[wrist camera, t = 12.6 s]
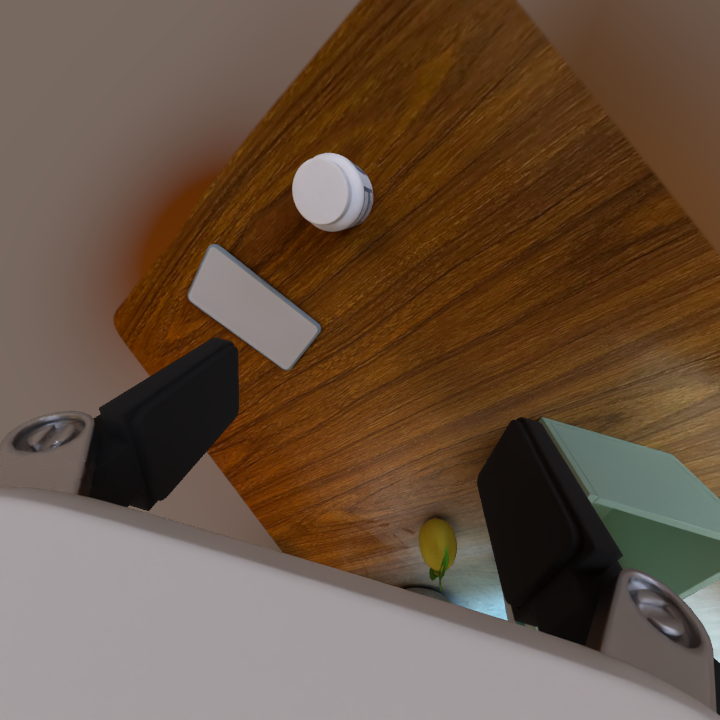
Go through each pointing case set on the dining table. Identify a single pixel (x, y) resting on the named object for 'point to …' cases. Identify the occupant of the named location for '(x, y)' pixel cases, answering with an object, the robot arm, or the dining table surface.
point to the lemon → (437, 547)
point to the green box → (646, 506)
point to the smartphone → (251, 308)
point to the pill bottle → (332, 192)
